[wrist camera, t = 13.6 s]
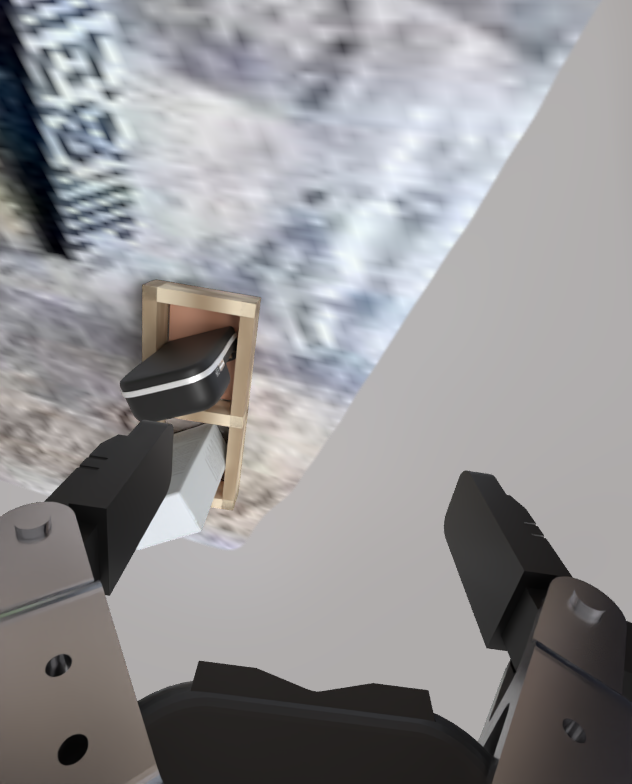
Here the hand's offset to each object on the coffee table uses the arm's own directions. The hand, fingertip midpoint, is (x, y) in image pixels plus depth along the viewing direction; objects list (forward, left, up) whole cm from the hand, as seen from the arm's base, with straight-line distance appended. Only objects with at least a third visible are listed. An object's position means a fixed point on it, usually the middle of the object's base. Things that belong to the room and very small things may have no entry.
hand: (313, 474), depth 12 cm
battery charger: (-10, -7, -28) cm, 30 cm away
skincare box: (-10, -17, -28) cm, 34 cm away
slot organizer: (-10, -12, -28) cm, 32 cm away
